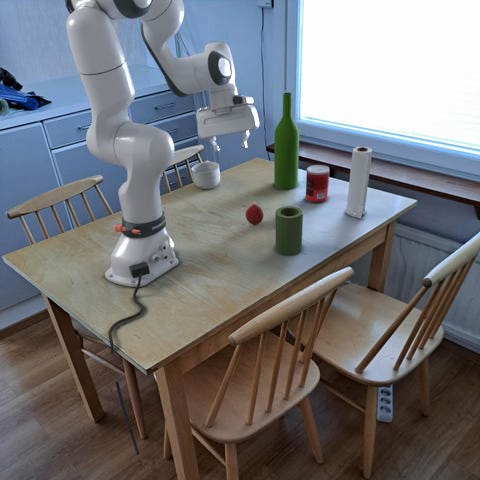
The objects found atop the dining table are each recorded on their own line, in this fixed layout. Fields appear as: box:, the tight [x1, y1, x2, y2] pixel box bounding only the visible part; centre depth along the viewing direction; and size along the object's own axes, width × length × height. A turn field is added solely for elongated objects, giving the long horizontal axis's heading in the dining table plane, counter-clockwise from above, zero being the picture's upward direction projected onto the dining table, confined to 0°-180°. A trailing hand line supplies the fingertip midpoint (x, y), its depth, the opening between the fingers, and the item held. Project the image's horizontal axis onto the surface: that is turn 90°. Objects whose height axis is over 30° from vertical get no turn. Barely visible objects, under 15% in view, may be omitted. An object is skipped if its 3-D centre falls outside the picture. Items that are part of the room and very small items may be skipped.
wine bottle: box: [273, 92, 300, 190], centre depth 168 cm, size 9×9×32 cm
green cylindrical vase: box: [275, 205, 304, 256], centre depth 136 cm, size 8×8×12 cm
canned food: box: [305, 164, 330, 204], centre depth 164 cm, size 8×8×11 cm
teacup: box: [190, 160, 221, 190], centre depth 180 cm, size 14×11×8 cm
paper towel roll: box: [345, 146, 373, 220], centre depth 150 cm, size 7×6×21 cm
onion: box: [245, 201, 265, 226], centre depth 151 cm, size 6×6×8 cm
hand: (230, 149), depth 148 cm, fingers open, 8 cm apart
